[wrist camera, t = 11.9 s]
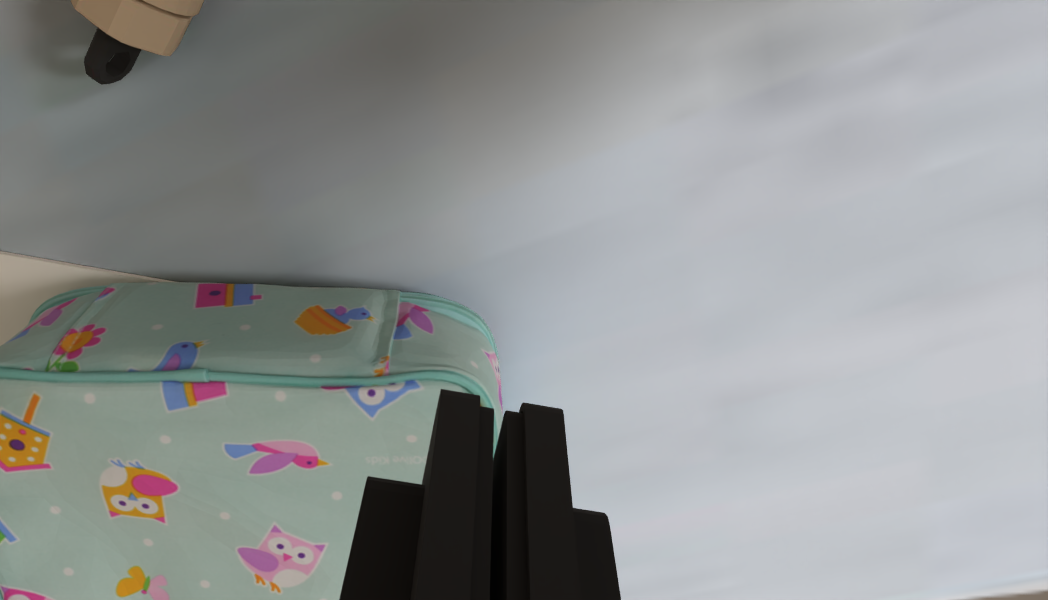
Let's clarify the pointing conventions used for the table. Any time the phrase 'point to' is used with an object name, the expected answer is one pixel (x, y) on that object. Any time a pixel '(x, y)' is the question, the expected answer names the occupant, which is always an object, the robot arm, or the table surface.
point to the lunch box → (217, 433)
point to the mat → (45, 286)
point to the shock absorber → (132, 32)
